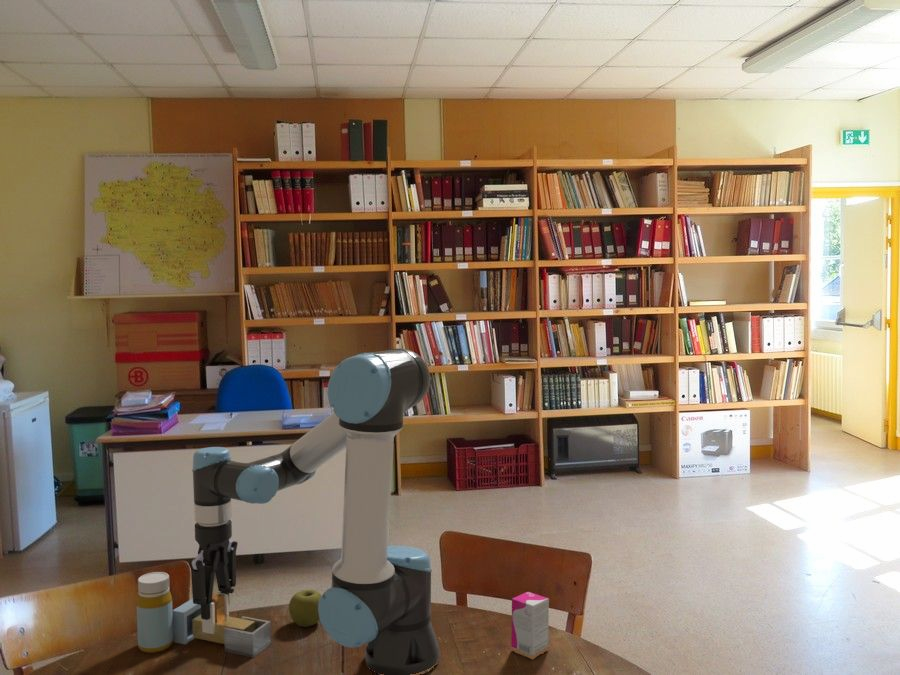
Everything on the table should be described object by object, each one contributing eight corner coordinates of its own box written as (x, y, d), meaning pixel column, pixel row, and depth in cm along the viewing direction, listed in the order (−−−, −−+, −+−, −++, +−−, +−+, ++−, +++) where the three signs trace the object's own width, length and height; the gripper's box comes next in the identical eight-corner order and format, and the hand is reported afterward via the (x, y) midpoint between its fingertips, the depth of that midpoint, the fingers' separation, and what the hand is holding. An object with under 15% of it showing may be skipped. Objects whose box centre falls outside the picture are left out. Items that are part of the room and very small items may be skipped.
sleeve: (270, 644, 168) (270, 621, 167) (253, 657, 162) (252, 634, 161) (243, 638, 170) (242, 616, 170) (224, 651, 164) (224, 628, 164)
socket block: (205, 630, 174) (205, 599, 173) (184, 644, 167) (183, 612, 167) (194, 628, 175) (193, 597, 174) (173, 641, 168) (172, 610, 168)
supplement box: (549, 650, 165) (550, 597, 164) (532, 660, 161) (532, 606, 160) (527, 641, 169) (527, 590, 168) (509, 651, 164) (510, 598, 163)
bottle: (161, 655, 162) (159, 585, 161) (131, 652, 164) (128, 582, 163) (179, 640, 169) (177, 572, 168) (150, 637, 171) (148, 570, 169)
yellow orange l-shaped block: (255, 639, 167) (254, 598, 167) (244, 648, 164) (243, 606, 163) (204, 629, 172) (203, 589, 171) (192, 637, 168) (191, 596, 167)
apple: (322, 631, 173) (321, 600, 173) (285, 631, 173) (285, 600, 173) (327, 616, 181) (327, 586, 180) (293, 616, 181) (292, 586, 180)
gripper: (223, 507, 176) (226, 608, 178) (171, 531, 160) (174, 642, 162) (251, 511, 173) (254, 613, 175) (201, 535, 157) (204, 648, 159)
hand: (216, 627), depth 168 cm, fingers closed on yellow orange l-shaped block, 4 cm apart
